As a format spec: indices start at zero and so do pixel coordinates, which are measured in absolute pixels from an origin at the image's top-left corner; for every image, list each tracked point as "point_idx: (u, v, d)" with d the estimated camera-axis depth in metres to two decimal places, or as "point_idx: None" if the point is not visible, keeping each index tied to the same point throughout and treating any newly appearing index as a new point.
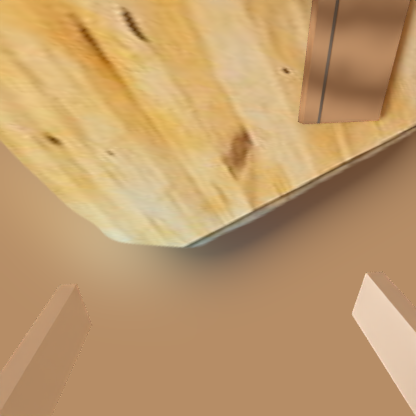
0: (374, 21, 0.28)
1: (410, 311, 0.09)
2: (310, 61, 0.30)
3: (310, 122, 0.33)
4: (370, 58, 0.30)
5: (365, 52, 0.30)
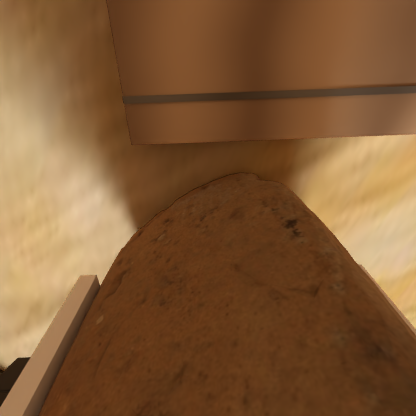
0: None
1: None
2: None
3: None
4: None
5: None
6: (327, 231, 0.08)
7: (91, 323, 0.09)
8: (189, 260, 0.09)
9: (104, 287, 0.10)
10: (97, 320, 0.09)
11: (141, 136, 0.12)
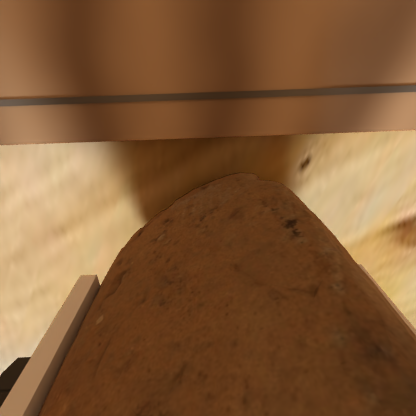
0: None
1: None
2: None
3: None
4: None
5: None
6: (327, 231, 0.08)
7: (91, 323, 0.09)
8: (189, 260, 0.09)
9: (104, 287, 0.10)
10: (97, 320, 0.09)
11: None
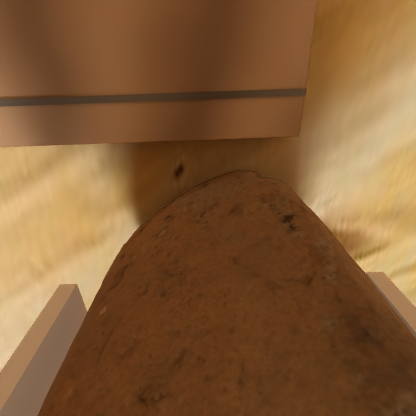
0: None
1: (410, 311, 0.09)
2: None
3: (298, 115, 0.12)
4: None
5: None
6: (323, 226, 0.08)
7: (94, 314, 0.09)
8: (189, 254, 0.09)
9: (107, 280, 0.11)
10: (101, 311, 0.09)
11: None
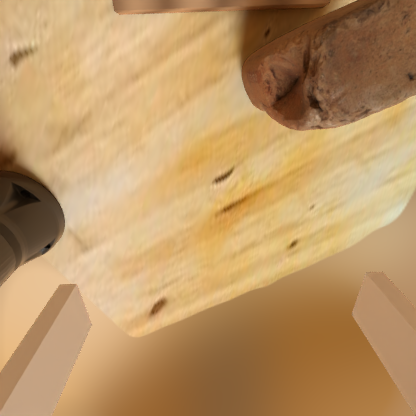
0: None
1: (410, 311, 0.09)
2: (264, 5, 0.28)
3: None
4: None
5: None
6: None
7: (258, 50, 0.25)
8: (292, 31, 0.25)
9: (253, 53, 0.26)
10: (262, 47, 0.24)
11: (118, 6, 0.28)
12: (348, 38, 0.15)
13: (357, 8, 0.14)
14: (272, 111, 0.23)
